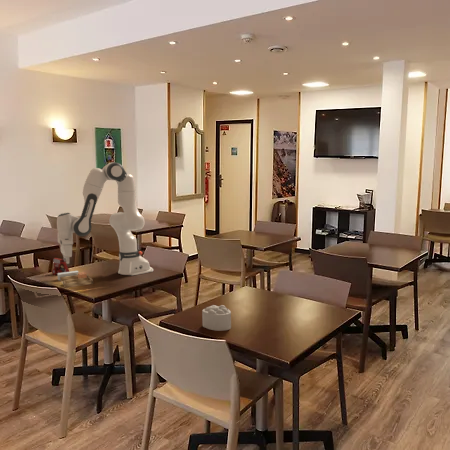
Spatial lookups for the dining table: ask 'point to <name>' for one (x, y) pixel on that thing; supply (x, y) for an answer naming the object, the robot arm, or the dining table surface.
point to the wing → (82, 275)
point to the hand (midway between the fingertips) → (66, 261)
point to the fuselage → (67, 274)
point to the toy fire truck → (59, 266)
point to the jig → (75, 281)
